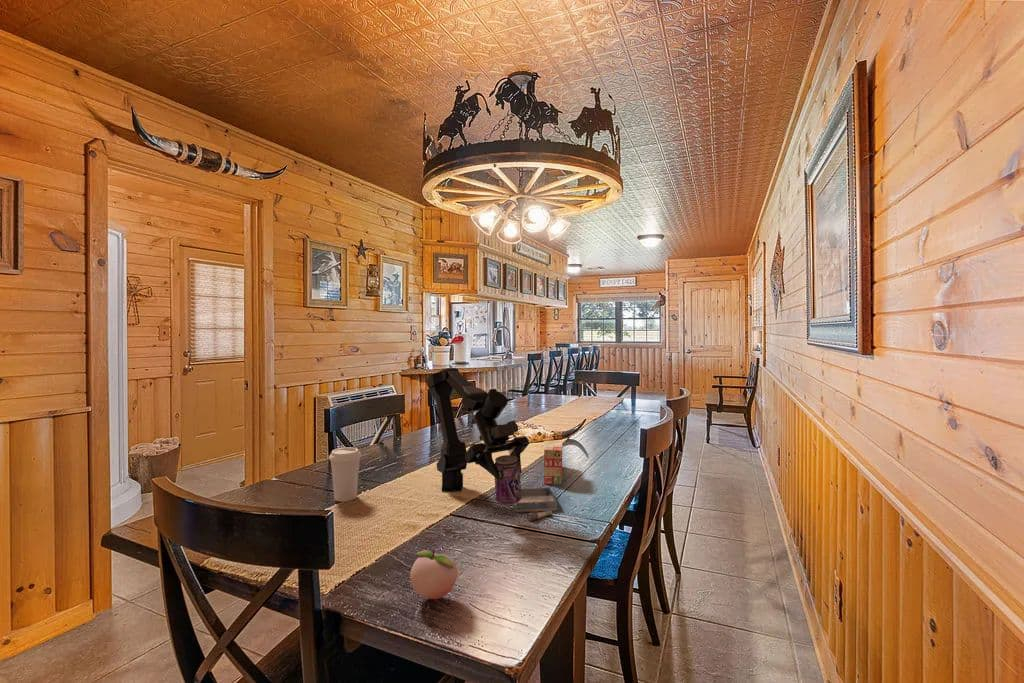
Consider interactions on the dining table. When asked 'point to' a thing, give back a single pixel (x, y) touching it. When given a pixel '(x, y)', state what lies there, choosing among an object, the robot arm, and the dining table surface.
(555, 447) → the stack of blocks
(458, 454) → the robot arm
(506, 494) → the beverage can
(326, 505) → the dining table surface
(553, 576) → the dining table surface
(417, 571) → the decorative fruit
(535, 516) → the pin gauge
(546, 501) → the tray
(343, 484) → the coffee cup
